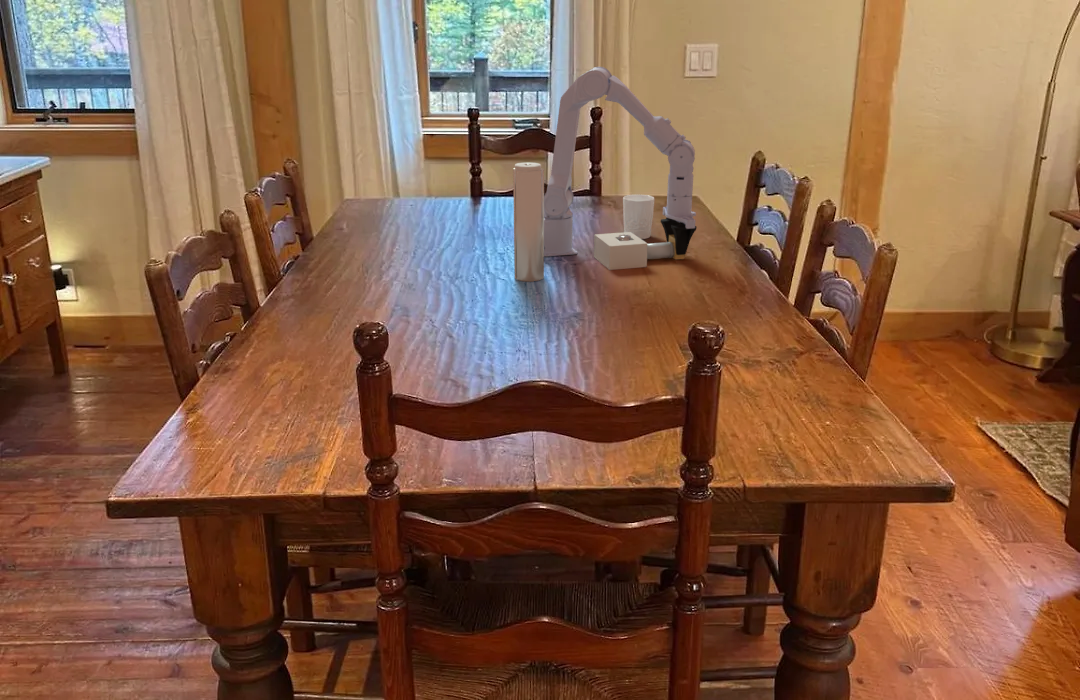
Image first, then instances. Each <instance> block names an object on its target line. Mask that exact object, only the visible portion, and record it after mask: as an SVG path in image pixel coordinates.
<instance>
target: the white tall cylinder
mask: <svg viewBox="0 0 1080 700" xmlns="http://www.w3.org/2000/svg"><path fill="white" fill-rule="evenodd" d="M512 171H513V172H512V173H513V174H512V176H513V177H512V178H513V181H512V182H513V183H512V184H513V185H512V186H513V187H512V188H513V246H514V247H513V251H514V252H513V256H514V257H513V258H514V259H513V260H514V262H513V263H514V279H515V280H516V281H519V282H525V283H531V282H534V281H535V282H540V281H541V280H543V279H544V278H545V257H544V195H545V168H542V164H541V163H538V162H527V161H526V162H517V163H515V164H514V168H513V169H512Z"/></svg>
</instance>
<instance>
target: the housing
mask: <svg viewBox="0 0 1080 700" xmlns="http://www.w3.org/2000/svg"><path fill="white" fill-rule="evenodd" d="M619 235H630V236H631V240H628V241H619ZM593 236H594V237H593V238H594V239H593V243H594V244H593V257H594V259H596V260H597V261H598V262H599V263H600V264H601V265H603V266H604V267H605V268H606V269H608V270H609V271H613V270H614V271H615V270H623V269H635V268H637V269H638V268H647V265H648V259H647V244H649V243H647V242H646V241H645V240H644V239H640V238H639V237H637V236H636V235H634V234H633V233H631V232H624V231H623V232H612V233H611V232H610V233H599V234H597V233H596V234H594V235H593Z"/></svg>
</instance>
